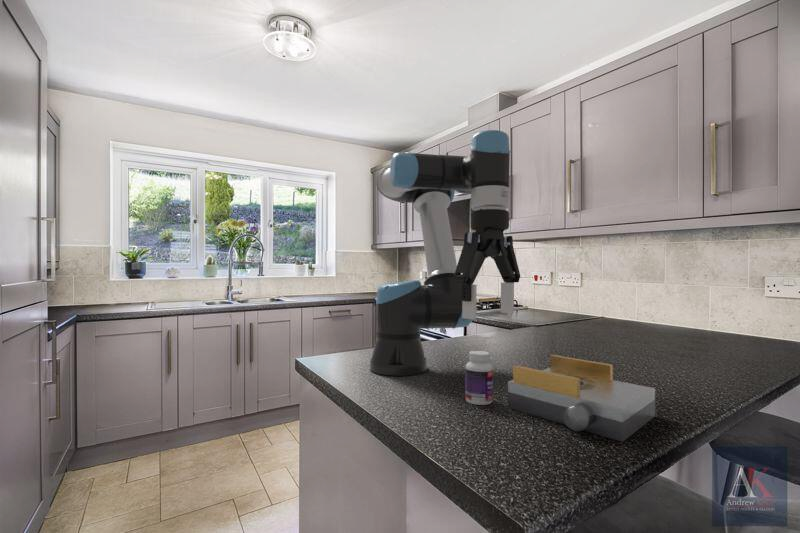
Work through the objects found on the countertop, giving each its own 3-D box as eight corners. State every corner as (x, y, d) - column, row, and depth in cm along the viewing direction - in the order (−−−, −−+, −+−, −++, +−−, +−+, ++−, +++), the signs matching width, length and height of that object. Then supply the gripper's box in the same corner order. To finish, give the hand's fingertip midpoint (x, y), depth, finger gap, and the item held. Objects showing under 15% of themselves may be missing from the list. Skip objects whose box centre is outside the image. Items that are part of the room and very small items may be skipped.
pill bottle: (493, 406, 75) (493, 355, 75) (465, 404, 76) (465, 354, 76) (492, 397, 80) (492, 350, 80) (465, 396, 81) (465, 349, 81)
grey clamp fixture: (499, 411, 72) (498, 368, 72) (549, 390, 85) (549, 353, 85) (615, 447, 57) (615, 393, 58) (655, 416, 70) (654, 371, 70)
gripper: (468, 200, 67) (467, 323, 67) (536, 214, 85) (536, 312, 85) (435, 205, 73) (434, 319, 73) (506, 217, 90) (505, 309, 90)
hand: (489, 315), depth 79 cm, fingers open, 13 cm apart
